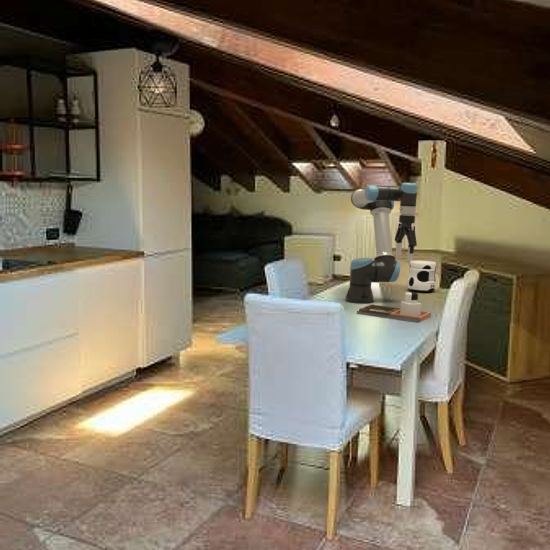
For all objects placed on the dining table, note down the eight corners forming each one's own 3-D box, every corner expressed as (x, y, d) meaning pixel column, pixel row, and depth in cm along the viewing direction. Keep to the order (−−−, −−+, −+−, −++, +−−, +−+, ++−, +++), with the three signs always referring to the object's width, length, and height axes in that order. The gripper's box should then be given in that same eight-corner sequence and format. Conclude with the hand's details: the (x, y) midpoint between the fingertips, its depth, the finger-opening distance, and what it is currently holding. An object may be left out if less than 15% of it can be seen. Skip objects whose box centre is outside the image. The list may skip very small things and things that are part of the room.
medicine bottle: (412, 315, 296) (414, 291, 295) (420, 318, 290) (422, 293, 288) (399, 315, 294) (401, 291, 292) (407, 318, 287) (409, 293, 286)
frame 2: (401, 312, 302) (401, 308, 302) (430, 316, 294) (430, 312, 294) (389, 317, 290) (389, 313, 289) (420, 321, 282) (420, 317, 281)
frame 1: (371, 308, 311) (371, 304, 310) (399, 312, 303) (399, 308, 302) (358, 312, 298) (359, 308, 298) (387, 317, 290) (387, 312, 290)
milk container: (407, 288, 381) (408, 259, 378) (435, 290, 377) (437, 261, 374) (405, 292, 364) (407, 262, 362) (435, 294, 360) (437, 264, 358)
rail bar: (358, 313, 298) (358, 310, 297) (419, 321, 281) (420, 319, 281) (356, 313, 296) (356, 311, 296) (418, 322, 280) (418, 320, 279)
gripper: (389, 212, 307) (387, 254, 311) (411, 217, 283) (408, 261, 287) (403, 212, 309) (400, 254, 312) (426, 217, 285) (422, 261, 289)
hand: (404, 257), depth 300 cm, fingers open, 13 cm apart
